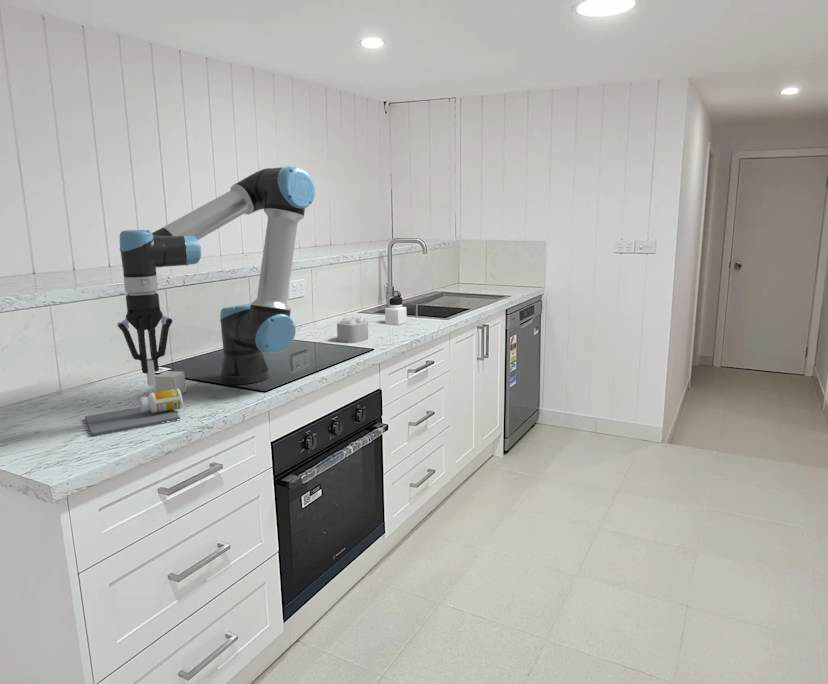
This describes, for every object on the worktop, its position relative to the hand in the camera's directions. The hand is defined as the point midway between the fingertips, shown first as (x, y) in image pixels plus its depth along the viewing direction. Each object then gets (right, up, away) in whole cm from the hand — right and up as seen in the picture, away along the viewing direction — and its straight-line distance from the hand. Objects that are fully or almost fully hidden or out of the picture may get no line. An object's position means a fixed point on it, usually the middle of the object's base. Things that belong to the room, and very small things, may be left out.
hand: (151, 384), depth 162 cm
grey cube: (-3, -4, +21) cm, 22 cm away
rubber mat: (-4, -9, -1) cm, 10 cm away
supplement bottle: (+6, -4, +5) cm, 8 cm away
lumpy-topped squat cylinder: (+43, +12, +91) cm, 101 cm away
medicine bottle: (+59, +19, +123) cm, 138 cm away
